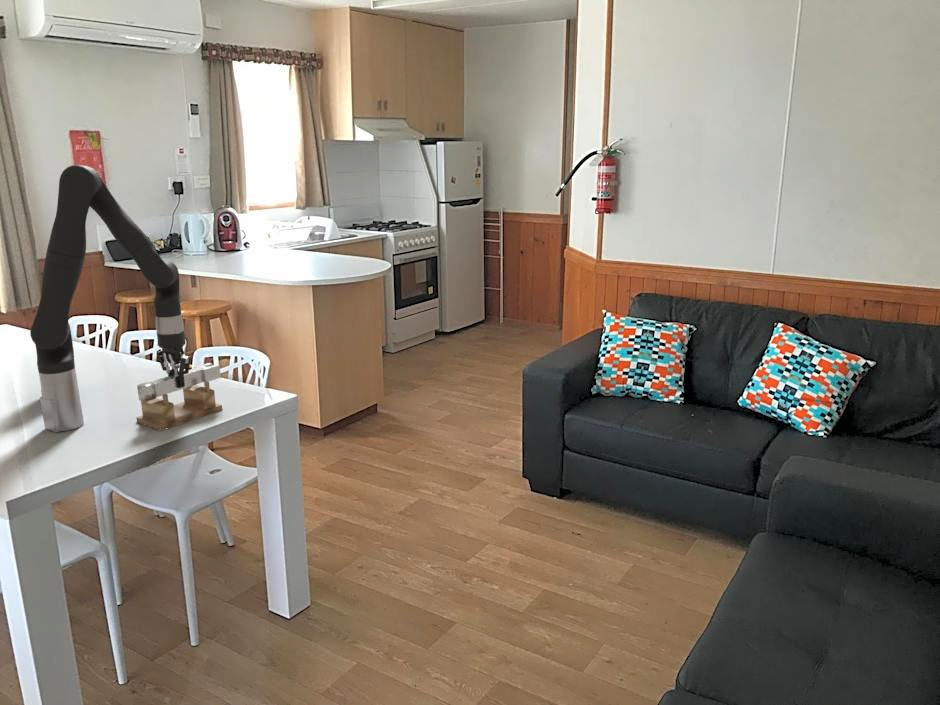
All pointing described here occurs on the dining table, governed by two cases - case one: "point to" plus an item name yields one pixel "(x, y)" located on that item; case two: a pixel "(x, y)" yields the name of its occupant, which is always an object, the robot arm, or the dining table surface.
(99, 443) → the dining table surface
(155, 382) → the long white beam
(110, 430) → the dining table surface
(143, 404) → the tool rest
